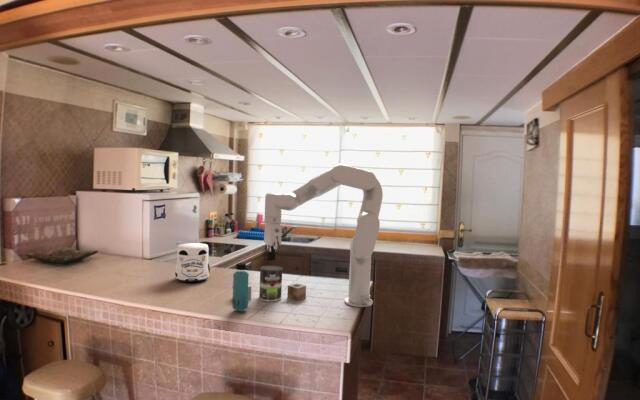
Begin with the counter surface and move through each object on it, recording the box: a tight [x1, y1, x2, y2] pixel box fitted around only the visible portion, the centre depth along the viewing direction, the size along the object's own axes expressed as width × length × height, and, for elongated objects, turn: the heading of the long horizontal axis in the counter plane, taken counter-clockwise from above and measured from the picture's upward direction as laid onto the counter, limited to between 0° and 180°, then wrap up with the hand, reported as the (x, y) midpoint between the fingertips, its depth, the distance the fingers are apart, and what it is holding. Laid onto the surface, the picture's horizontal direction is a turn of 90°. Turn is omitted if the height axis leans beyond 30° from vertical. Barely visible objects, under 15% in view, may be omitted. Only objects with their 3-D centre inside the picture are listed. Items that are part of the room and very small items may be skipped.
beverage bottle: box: [231, 262, 250, 311], centre depth 159 cm, size 6×7×20 cm
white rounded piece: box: [174, 242, 211, 283], centre depth 201 cm, size 17×17×18 cm
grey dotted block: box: [248, 282, 252, 301], centre depth 176 cm, size 6×6×6 cm
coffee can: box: [258, 264, 284, 302], centre depth 177 cm, size 10×10×14 cm
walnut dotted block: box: [286, 282, 307, 302], centre depth 179 cm, size 6×6×6 cm
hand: (271, 259), depth 176 cm, fingers closed
